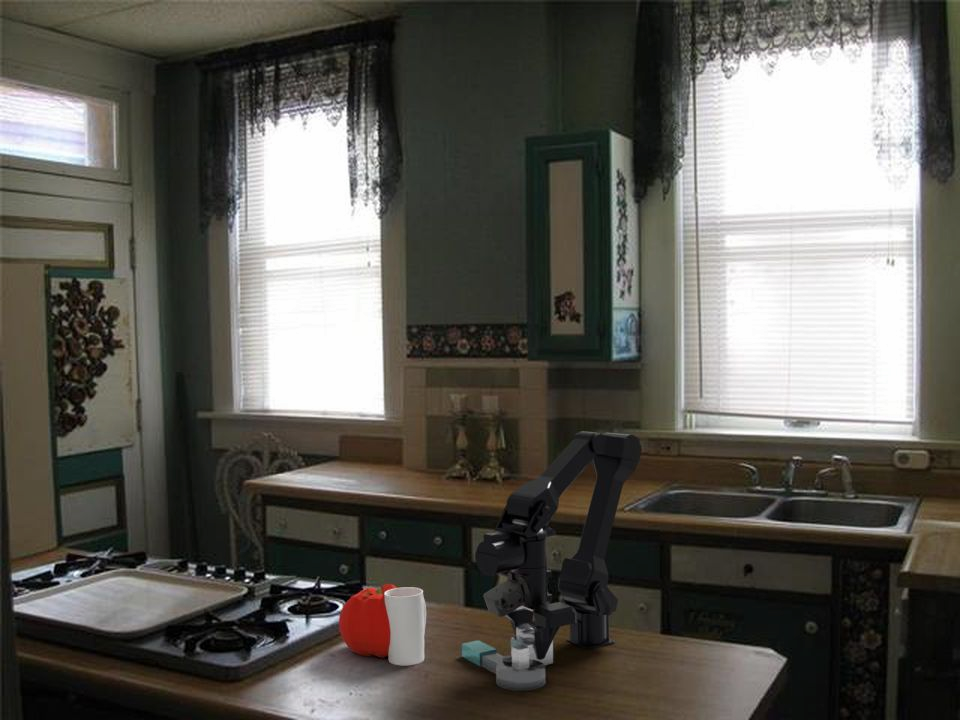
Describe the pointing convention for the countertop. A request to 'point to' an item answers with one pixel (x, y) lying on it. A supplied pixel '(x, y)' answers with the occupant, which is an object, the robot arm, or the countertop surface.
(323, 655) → the countertop surface
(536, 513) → the robot arm
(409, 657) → the mug
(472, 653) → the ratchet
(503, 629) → the countertop surface
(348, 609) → the tomato
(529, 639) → the cylinder with square end
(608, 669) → the countertop surface
